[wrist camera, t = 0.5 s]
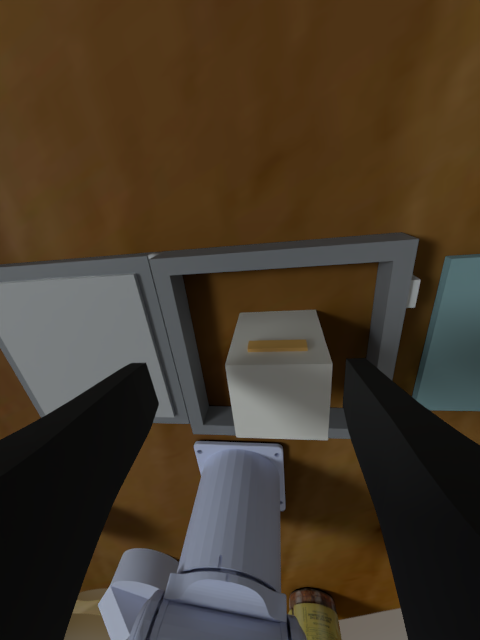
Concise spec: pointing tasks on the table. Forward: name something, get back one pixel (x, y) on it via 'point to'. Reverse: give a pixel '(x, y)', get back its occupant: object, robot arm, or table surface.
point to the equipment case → (170, 319)
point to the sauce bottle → (315, 614)
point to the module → (280, 376)
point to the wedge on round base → (134, 588)
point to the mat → (453, 340)
